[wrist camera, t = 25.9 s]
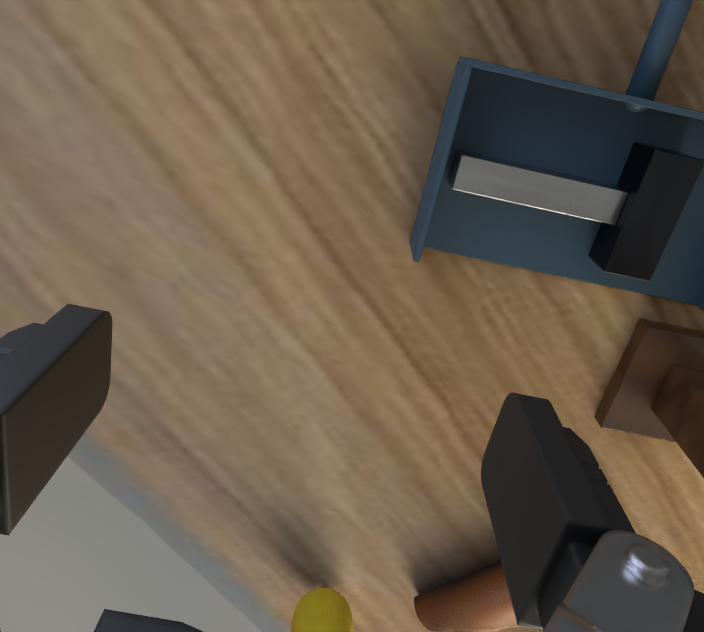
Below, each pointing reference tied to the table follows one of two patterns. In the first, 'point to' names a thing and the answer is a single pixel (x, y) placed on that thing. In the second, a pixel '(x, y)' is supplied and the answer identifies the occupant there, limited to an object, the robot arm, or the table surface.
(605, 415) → the stand
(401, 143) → the table surface
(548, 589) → the robot arm
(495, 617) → the sunglasses case
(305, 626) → the lemon
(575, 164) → the scoop
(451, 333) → the table surface
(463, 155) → the t-shaped mallet
